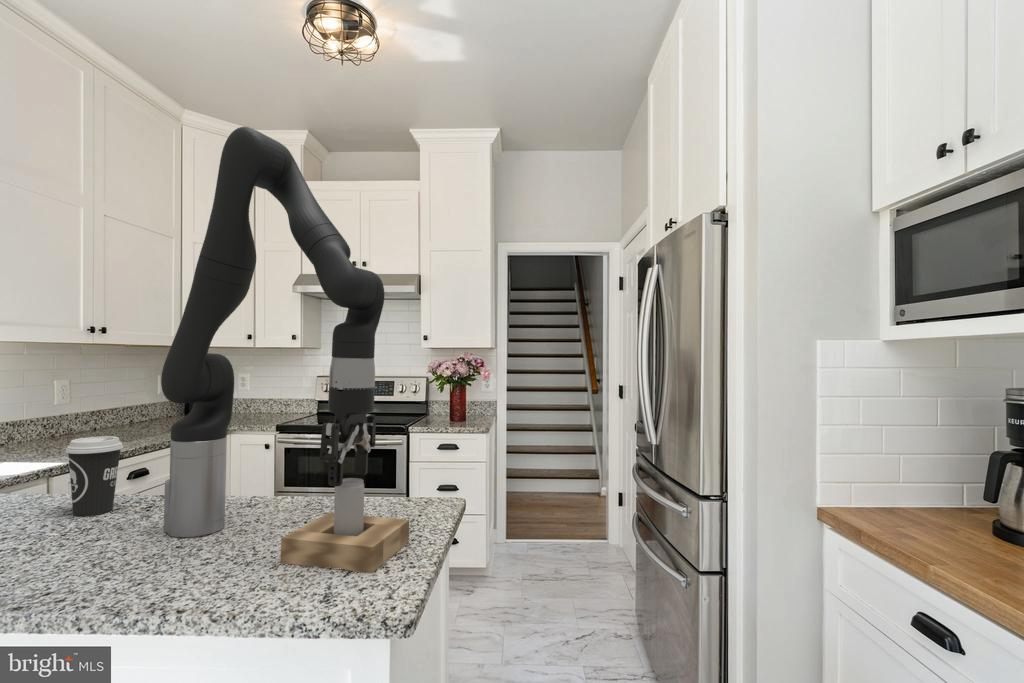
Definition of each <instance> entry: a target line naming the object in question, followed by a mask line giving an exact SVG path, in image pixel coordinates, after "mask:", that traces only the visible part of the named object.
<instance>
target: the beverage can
mask: <svg viewBox="0 0 1024 683" xmlns="http://www.w3.org/2000/svg"><path fill="white" fill-rule="evenodd" d="M333 500H334V503H333V505H334V507H333V513H334V534H336V535H347V536H358V535H360V534H361V533H363V526H364V516H365V515H364V514H365V513H364V512H365V511H364V510H365V508H364V507H365V483H364V479H362V478H358V477H346V478H343V483H342V485H341V486H338V487H337V486H334V499H333Z"/></svg>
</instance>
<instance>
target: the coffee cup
mask: <svg viewBox="0 0 1024 683" xmlns="http://www.w3.org/2000/svg"><path fill="white" fill-rule="evenodd" d="M123 448H124V444H123V443H122V441H120V437H118V436H112V435H111V436H109V435H108V436H89V437H81V438H76V439H72V440H70V443H69V445H67V447H66V448H65V453H66V454H67V455H68V464H69V465H68V467H69V477H70V478H69V480H70V490H71V502H72V515H73V517H80V518H81V517H83V518H84V517H93V516H94V517H95V516H99V515H104V514H108V513H110V512H111V511H113V509H114V502H115V495H116V494H115V493H116V488H117V487H116V486H117V485H116V484H117V480H118V478H117V477H118V471H119V464H120V458H121V457H120V455H121V450H122V449H123Z"/></svg>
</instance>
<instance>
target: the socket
mask: <svg viewBox="0 0 1024 683" xmlns="http://www.w3.org/2000/svg"><path fill="white" fill-rule="evenodd" d="M408 543H410V519H406V518H396V517H395V518H394V517H381V516H369V515H364V526H363V533H361V534H360V535H358V536H347V535H336V534H334V512H328V513H326V514H324V515H321V516H320V517H318V518H316V519H314V520H312V521H310V522H309V523H307V524H304V525H302V526H300V527H299V528H297V529H295V530H294V531H291V532H290V533H288V534H285V535H284V536H282V537H280V564H285V563H286V564H288V565H294V564H295V566H303V565H308V566H307V567H312V566H317V567H316V568H321V567H328V568H327V569H330V568H339V569H340V568H341V569H346V570H345V571H348V570H354V571H353V572H357V571H361V572H360V573H366V572H369V573H368V574H373V573H374V572H376V571H377V570H378V569H379V568H380V567H381V566H383V565H384V564H385V563H386V562H387V561H389V560H390V559H391V558H392V557H393V556H394V555H395V553H396V552H397V551H398V552H399V551H401V549H403V548H404V547H405V546H406V545H408ZM402 547H403V548H402ZM398 552H397V553H398ZM391 556H392V557H391ZM390 557H391V558H390ZM389 558H390V559H389ZM384 562H385V563H384ZM383 563H384V564H383ZM382 564H383V565H382ZM329 567H330V568H329ZM339 569H338V570H339ZM376 569H377V570H376Z"/></svg>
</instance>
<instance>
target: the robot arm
mask: <svg viewBox="0 0 1024 683" xmlns="http://www.w3.org/2000/svg"><path fill="white" fill-rule="evenodd" d="M255 187H257V188H260V189H262V190H266V191H267V192H269V193H270V194H271V195H272V196H273V197H274V198H275V199H276V200H277V201H278V202H279V203H280V204H281V205H282V207H283V208H284V210H285V212H286V214H287V217H288V225H289V229H290V232H291V235H292V237H293V238H294V240H295V242H296V244H297V245H298V246H299V248H300V249H301V251H302V252H303V253H304V255H305V257H306V258H307V259H308V261H309V262H310V263H311V264H312V266H313V267H314V271H315V275H316V276H317V279H318V282H319V284H320V287H321V288H322V292H324V295H325V296H326V297H327V298H328V299H329V300H330V301H331V302H332V303H333V304H335V305H336V306H338V307H340V308H345V309H347V312H346V313H347V314H346V317H345V320H344V322H342V323H338V324H337V325H335V326H334V328H333V331H332V338H331V339H332V340H331V341H332V342H331V343H332V344H331V361H330V366H329V375H328V376H329V377H328V380H329V381H328V403H327V406H328V407H327V409H328V412H329V413H331V414H333V415H334V419H333V422H323V423H322V424H321V425H322V426H321V437H320V447H319V448H320V452H319V460H320V461H323V462H326V463H327V464H328V471H327V472H328V473H327V474H328V475H327V485H328V486H330V487H335V486H337V487H338V486H341V485H342V483H343V479H344V478H343V477H344V460H345V456H346V455H347V452H349V451H350V450H351V448H352V446H353V448H354V451H355V453H354V470H353V471H354V474H355V475H366V474H367V473H368V470H369V469H368V467H369V466H368V464H369V453H370V452H371V449H372V448H375V447H376V438H377V437H376V432H377V431H376V430H377V428H376V427H377V426H376V422H377V417H376V414H371V413H372V412H374V410H375V390H376V389H375V388H376V366H375V343H376V338H375V337H376V332H377V330H378V327H379V323H380V321H381V320H380V319H381V316H382V312H383V308H384V305H385V304H384V302H385V288H384V284H383V281H382V279H381V277H380V276H379V275H378V274H377V273H375V272H374V271H371V270H369V269H368V270H367V269H363V268H361V267H360V268H359V267H356V266H355V265H354V264H353V262H351V260H350V259H351V258H350V257H351V255H352V254H351V253H352V252H351V248H350V246H349V244H348V242H347V241H346V239H345V238H344V237H343V235H342V234H341V233H340V231H339V230H338V229H337V228H336V226H335V225H334V223H333V222H332V221H331V219H330V218H329V217H328V216H327V214H326V213H325V211H324V210H323V208H322V207H321V206H320V204H319V203H318V201H317V200H316V198H315V196H314V194H313V192H312V191H311V189H310V188H309V185H308V182H307V181H306V180H305V178H304V176H303V173H302V172H301V170H300V168H299V165H298V163H297V162H296V160H295V158H294V156H293V155H292V153H291V152H290V150H289V149H288V148H287V146H285V145H284V144H283V143H281V142H280V141H277V140H275V139H274V138H272V137H270V136H268V135H265V134H264V133H262V132H261V131H259V130H256V129H254V128H251V127H249V126H240V127H237V128H236V129H234V130H233V131H231V133H230V134H229V135H228V137H227V138H226V141H225V143H224V145H223V147H222V151H221V156H220V160H219V166H218V173H217V179H216V186H215V191H214V192H215V193H214V198H213V203H212V209H211V213H210V217H209V220H208V224H207V229H206V233H205V235H204V240H203V243H202V246H201V249H200V251H199V255H198V259H197V263H196V267H195V271H194V275H193V279H192V284H191V287H190V291H189V294H188V298H187V302H186V303H185V307H184V311H183V314H182V317H181V319H180V322H179V326H178V328H177V330H176V333H175V336H174V339H172V343H171V346H170V348H169V350H168V353H167V355H166V358H165V360H164V363H163V366H162V371H161V377H160V385H161V386H160V387H161V391H162V393H163V396H164V397H165V399H167V400H168V401H169V402H170V403H175V404H192V403H193V404H192V407H191V410H190V412H188V413H187V414H186V415H185V416H184V417H183V418H182V419H179V420H178V421H176V422H175V423H173V424H172V425H171V428H170V442H169V443H170V448H169V450H170V451H169V453H170V454H169V479H166V480H165V482H164V498H163V499H164V500H163V502H164V503H163V533H168V535H169V536H171V537H175V538H176V537H177V538H190V537H191V538H192V537H193V538H194V537H200V536H205V535H209V534H213V533H216V532H218V531H220V530H222V529H223V528H225V525H226V524H225V523H226V522H225V521H226V487H227V486H226V484H227V481H226V480H227V450H228V449H227V444H228V443H227V442H228V441H227V440H228V439H227V438H228V437H227V435H228V428H229V425H230V423H231V421H232V416H233V404H234V403H233V402H234V393H235V373H234V372H235V371H234V368H233V365H232V363H231V361H230V360H229V358H227V357H226V356H225V355H224V354H223V355H222V354H220V353H213V352H212V353H208V352H209V350H210V346H211V343H212V341H213V339H214V336H215V335H216V333H217V331H218V330H219V329H220V327H221V326H222V325H223V324H224V322H225V321H226V320H228V318H230V316H232V314H233V313H234V312H235V311H236V310H237V308H238V307H239V306H240V305H241V303H243V301H244V300H245V299H246V297H247V295H248V293H249V290H250V287H251V284H252V280H253V277H254V274H255V269H256V265H257V250H256V246H255V245H256V244H255V241H254V235H253V231H252V227H251V222H250V208H251V207H250V206H251V205H250V204H251V200H252V198H253V197H252V196H253V192H254V190H255V189H254V188H255ZM328 448H329V450H328Z"/></svg>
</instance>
